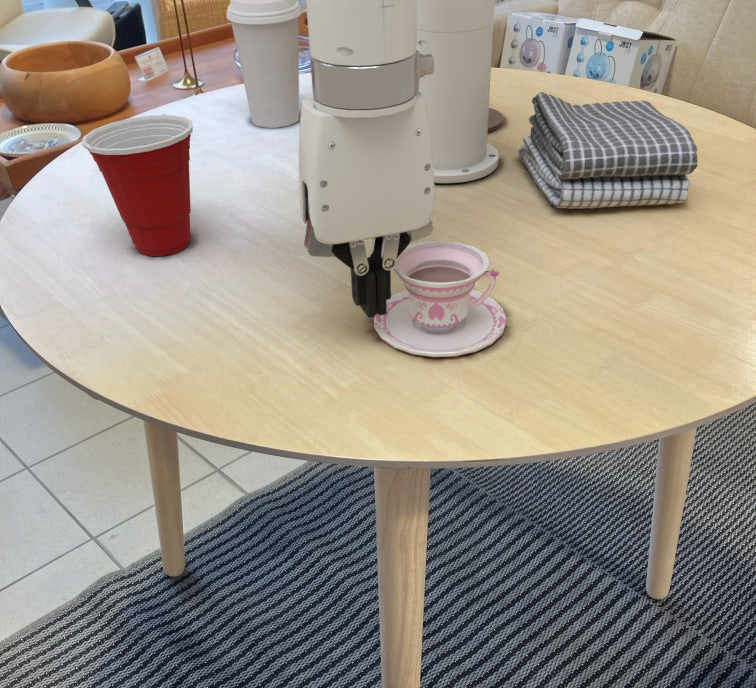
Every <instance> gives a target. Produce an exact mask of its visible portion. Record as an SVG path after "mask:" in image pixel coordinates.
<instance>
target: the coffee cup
mask: <svg viewBox="0 0 756 688" xmlns="http://www.w3.org/2000/svg"><path fill="white" fill-rule="evenodd" d="M302 14H303V11H302V8H301V5H300V3H299V1H298V0H230V1H229V4H228V6H227V10H226V17H225V18H226V19H227V20H228V21H229V22H230V23H231V28H232V32H233V37H234V42H235V46H236V52H237V56H238V61H239V65H240V70H241V71H240V72H241V75H242V81H243V85H244V90H245V94H246V99H247V105H248V108H249V114H250V118H251V123H252V124H254V125H255V126H257V127H260V128H265V129H276V128H284V127H288V126H292V125H294V124H296V123H297V122H298V121H300V60H299V59H300V58H299V55H300V54H299V51H300V50H299V47H300V46H299V44H300V43H299V17H300V16H301V15H302Z"/></svg>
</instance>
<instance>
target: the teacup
mask: <svg viewBox="0 0 756 688" xmlns="http://www.w3.org/2000/svg"><path fill="white" fill-rule="evenodd" d="M489 267H490V258H489V257H488V255H487V254H486V253H485V252H484V251H483V250H481V249H479V248H478V247H476V246H473V245H470V244H467V243H463V242H457V241H452V240H451V241H450V240H429V241H421V242H416V243H412V244H409V245H408V246H407V247H406V248H405V250H404V251H403V252H402V253H401V254H400V256H399V257H398V258H397V260H396V265H395V267H394V268H393V269H392V270H394V272H395V273H396V275H397V277H398V278H399V279H400V281H402V282H403V287H404V288H405V289H403V290H400V291H398V292H396V293H394V294H391V299H389V300H386V303H387V314H386V315H381V316H380V315H379V314H376V315H375V317H373V327H374V328H373V329H374V330H375V331H376V333H377V335H378V336H379V338H380V339H381V340H383V341H384V342H385V343H387V344H388V345H390V346H391V347H392V348H394V349H397V350H400V351H402V352H406V353H409V354H411V355H417V356H423V357H424V356H425V357H430V358H431V357H432V358H443V357H444V358H445V357H446V358H447V357H458V356H463V355H467V354H470V353H471V354H472V353H476V352H478V351H480V350H482V349H485V348H487V347H489V346H491V345H493V344H494V343H495V342H496V341H497V340H498V339H499V338H501V336H503V334H504V331H505V328H506V326H507V321H508V320H507V317H506V312H505V309H504V308H503V307H502V305H500V304H499V302H498V301H497V300H496V299H495V298H492V297H491V294H492V293H493V290H494V289H495V287H496V281H497V279H496V277H498V276H499V274H500V271H495V269H494V268H493V269H491V270H488V269H489ZM485 278H487V279H489V281H490V282H489V285H488V287H487V289H486V290H485V291H484V292H482V291H479V290H476V289H474V287H475V286H476V283H477V282H478V281H480V280H483V279H485Z"/></svg>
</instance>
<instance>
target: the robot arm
mask: <svg viewBox="0 0 756 688" xmlns="http://www.w3.org/2000/svg"><path fill="white" fill-rule="evenodd" d="M305 5H306V17H307V19H306V20H307V31H308V33H307V34H308V45H309V46H308V47H309V63H310V73H311V75H310V76H311V89H312V97H309V98H306V99H304V100H303V101H302V104H301V111H300V117H299V130H298V131H299V132H298V133H299V134H298V198H299V199H298V200H299V201H298V202H299V211H300V216H301V219H302V222H303V223H304V225H305V224H306V230H305V235H304V243H303V247H304V248H305V250H306V252H307V253H308V255H309V256H311V257H317V258H318V257H319V258H336V259H337V260H339V261H340V262H342V264H344V265H345V266H347V267H348V268H349V269H350V281H351V282H350V283H351V296H352V301H353V303H354V305H355V306H356V307H360V309H361V310H362V312H364V314H365V315H366V317H367V318H368V319H371V318H374V317H375V315H376V314H379V315H380V316H381V315H386V314H387V303H386V300H389V299H391V295H392V277H391V275H392V273H391V272H392V270H393V268H394V267H395V265H396V260H397V258H398V257H399V256H400V254H401V253H402V252H403V251H404V250H405V248H406V247H407V246H409V245H410V244H411V243H415V242H417V241H419V240H421V239H424V238H426V237H428V236H430V235H431V234H433V231H434V226H433V221H432V219H433V216H434V212H435V199H436V198H435V195H436V194H435V184H458V183H460V184H461V183H467V182H471V181H476V180H479V179H481V178H484V177H486V176H488V175H490V174H491V173H494V171H495V170H496V169H497V168H498V167H499V163H500V153H499V151H498V150H497V148H496V147H495V146H494V145H492V144H491V143H489V142H488V133H487V132H488V114H489V108H490V95H491V79H492V77H491V76H492V61H493V60H492V58H493V57H492V56H493V44H494V43H493V39H494V25H495V24H494V23H495V0H305ZM370 239H372V242H371V250H370V251H371V253H370V255H369V256H368V255H367V249H366V245H365V240H370Z"/></svg>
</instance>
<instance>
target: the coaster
mask: <svg viewBox="0 0 756 688" xmlns="http://www.w3.org/2000/svg"><path fill="white" fill-rule="evenodd" d="M503 124H504V116H503V114H502V113H501V112H500V111H499V110H497V109H495V108H493V107H489V114H488V132H487V134H489V133H492V132H495V131H497V130H499V128H501V127H502V126H503Z"/></svg>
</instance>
